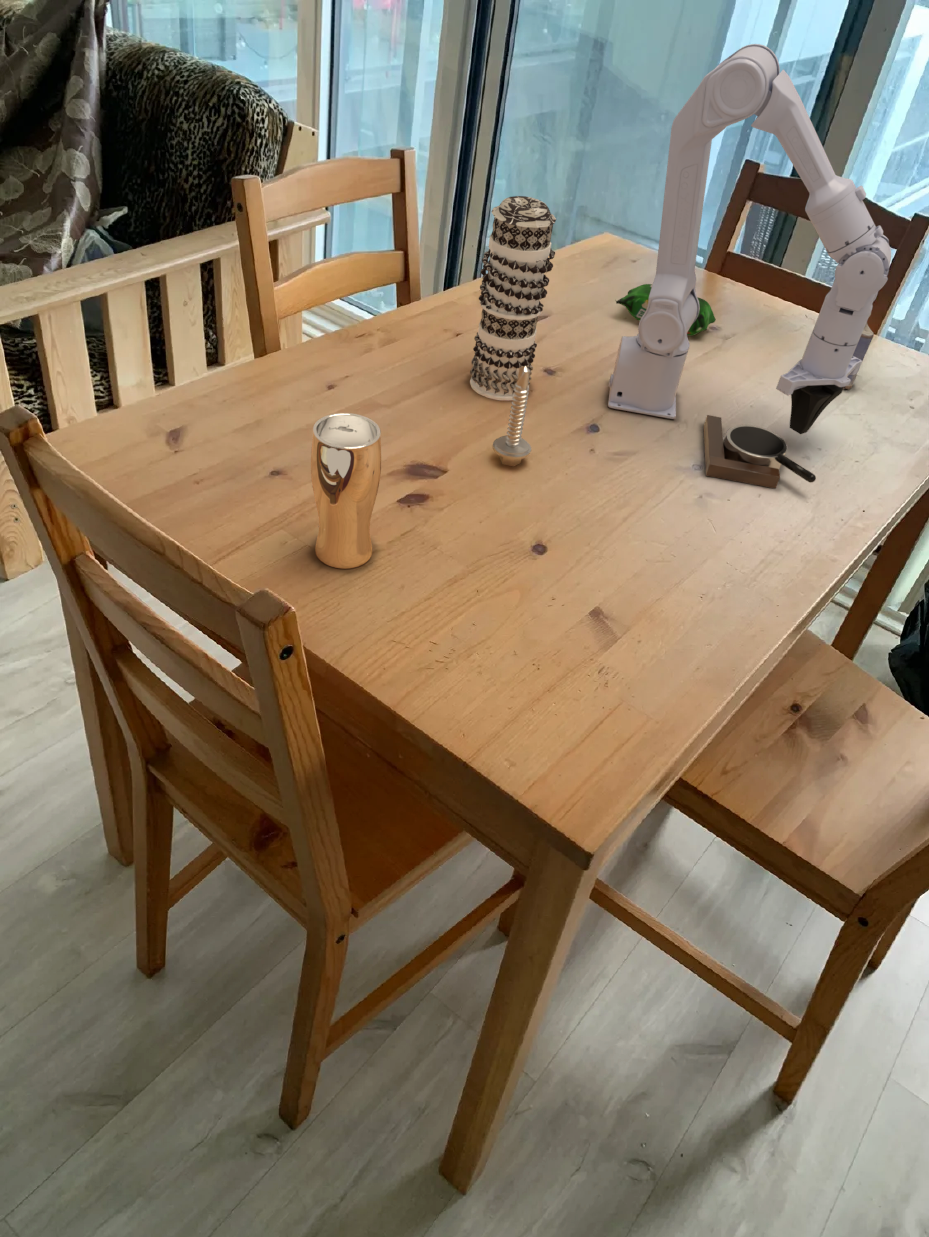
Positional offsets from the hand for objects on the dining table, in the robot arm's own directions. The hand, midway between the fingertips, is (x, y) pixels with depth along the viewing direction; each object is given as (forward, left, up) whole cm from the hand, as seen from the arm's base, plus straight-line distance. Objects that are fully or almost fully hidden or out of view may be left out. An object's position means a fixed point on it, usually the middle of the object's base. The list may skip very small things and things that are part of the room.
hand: (797, 429), depth 126 cm
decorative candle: (-41, +2, -2) cm, 41 cm away
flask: (+10, +25, -2) cm, 27 cm away
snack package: (-18, +33, -2) cm, 37 cm away
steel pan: (-4, -8, -2) cm, 10 cm away
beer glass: (-52, -41, -2) cm, 67 cm away
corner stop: (-8, -6, -2) cm, 10 cm away
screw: (-37, -17, -2) cm, 41 cm away
